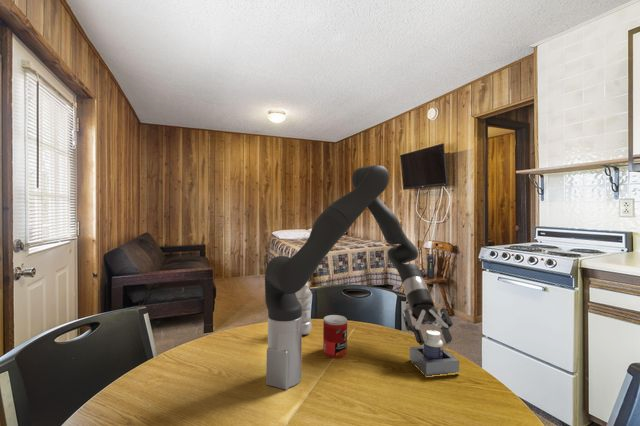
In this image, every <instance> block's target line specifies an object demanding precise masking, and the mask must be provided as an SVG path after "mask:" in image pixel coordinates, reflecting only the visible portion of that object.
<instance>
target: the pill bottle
mask: <svg viewBox="0 0 640 426" xmlns="http://www.w3.org/2000/svg"><path fill="white" fill-rule="evenodd" d="M441 333H442V332H440V331H438V330H435V329H427V330H426V332H425V336H426V337H423V339H424V344H423V345H422V346H423V355H424V356H425V357H426V358H427V359H428V360H435V359H443V348H444V342H443V340H442V339H441V338H442V337H441Z"/></svg>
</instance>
